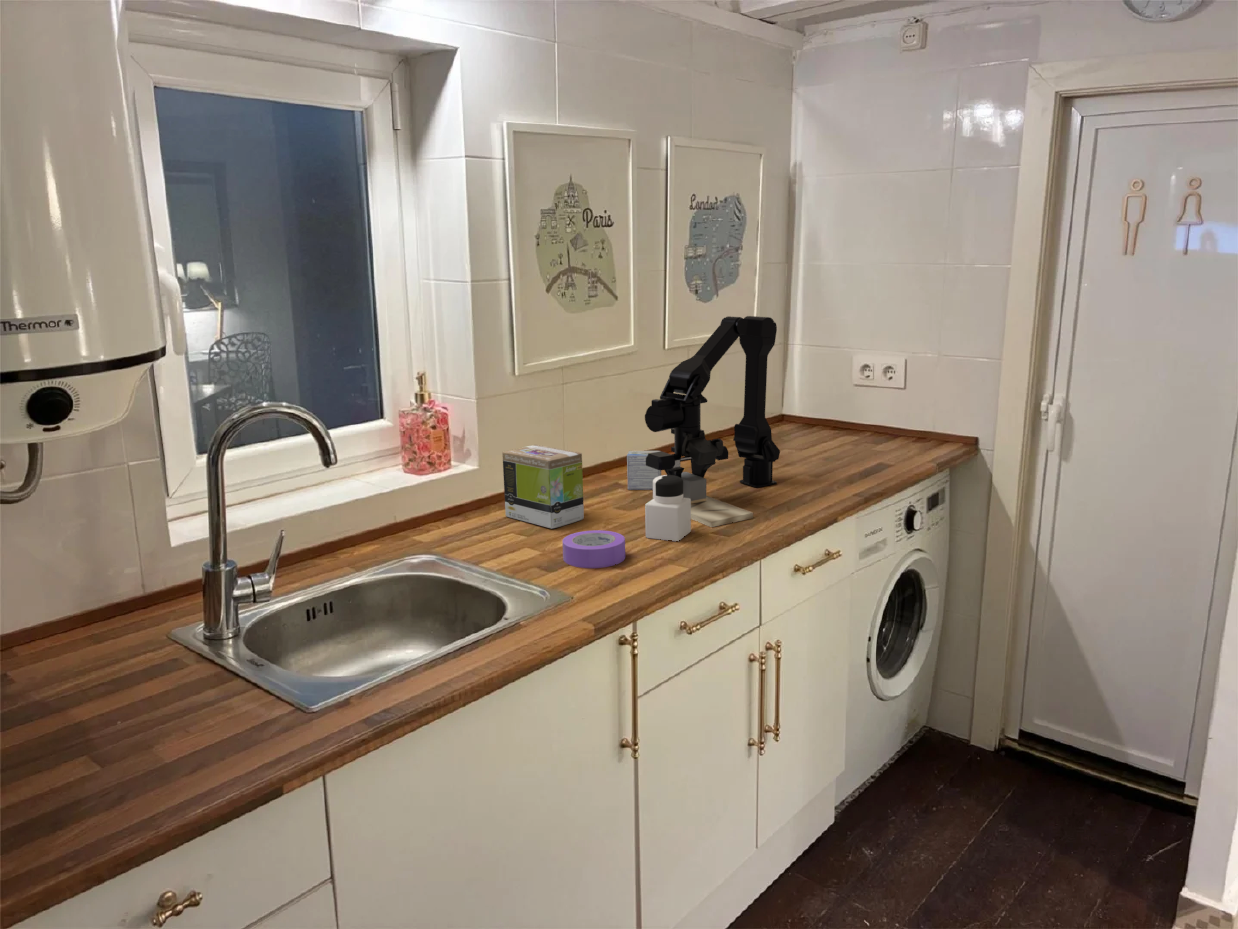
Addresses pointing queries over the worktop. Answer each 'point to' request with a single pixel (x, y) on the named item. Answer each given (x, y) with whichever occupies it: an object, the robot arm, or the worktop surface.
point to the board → (717, 512)
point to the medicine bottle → (668, 510)
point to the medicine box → (640, 471)
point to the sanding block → (694, 487)
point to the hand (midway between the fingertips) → (687, 493)
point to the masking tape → (594, 549)
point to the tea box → (543, 485)
